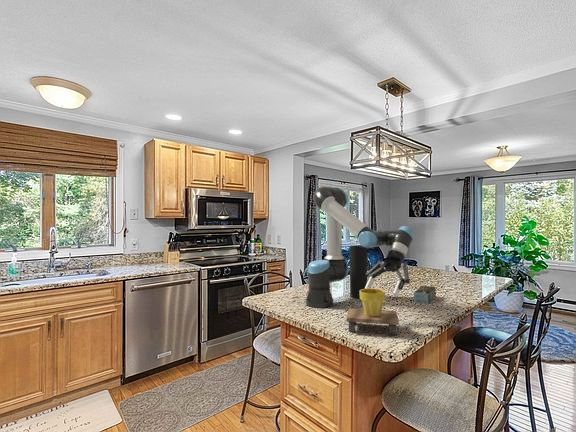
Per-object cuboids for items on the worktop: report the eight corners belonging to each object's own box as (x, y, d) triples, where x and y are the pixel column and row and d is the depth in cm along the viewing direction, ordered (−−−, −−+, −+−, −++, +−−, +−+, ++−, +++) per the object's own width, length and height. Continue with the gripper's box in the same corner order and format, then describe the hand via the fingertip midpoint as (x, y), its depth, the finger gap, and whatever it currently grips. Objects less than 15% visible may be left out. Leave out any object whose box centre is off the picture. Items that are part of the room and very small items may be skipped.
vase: (346, 297, 185) (346, 246, 185) (355, 293, 193) (354, 245, 193) (362, 299, 178) (361, 247, 179) (370, 296, 186) (369, 246, 187)
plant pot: (358, 316, 126) (357, 292, 127) (361, 310, 136) (361, 287, 136) (384, 319, 123) (384, 294, 123) (386, 312, 132) (385, 289, 133)
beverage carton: (413, 302, 171) (413, 290, 171) (421, 295, 187) (421, 284, 187) (428, 304, 166) (428, 292, 167) (436, 297, 182) (435, 286, 182)
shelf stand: (346, 332, 125) (346, 317, 125) (349, 321, 139) (349, 308, 139) (399, 336, 120) (398, 321, 120) (396, 325, 133) (396, 311, 133)
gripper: (426, 261, 137) (411, 302, 126) (376, 257, 155) (359, 292, 145) (420, 250, 133) (405, 291, 123) (370, 247, 151) (352, 283, 141)
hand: (380, 292), depth 134 cm, fingers open, 13 cm apart
